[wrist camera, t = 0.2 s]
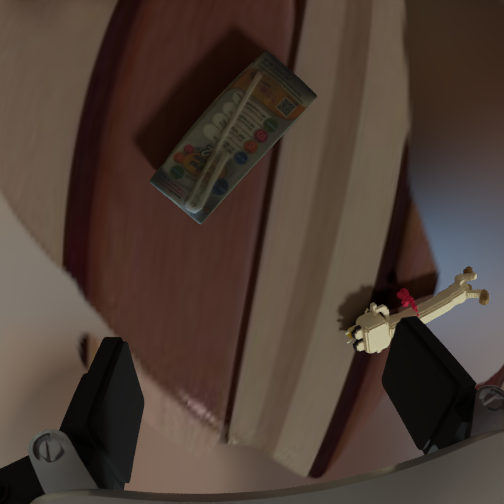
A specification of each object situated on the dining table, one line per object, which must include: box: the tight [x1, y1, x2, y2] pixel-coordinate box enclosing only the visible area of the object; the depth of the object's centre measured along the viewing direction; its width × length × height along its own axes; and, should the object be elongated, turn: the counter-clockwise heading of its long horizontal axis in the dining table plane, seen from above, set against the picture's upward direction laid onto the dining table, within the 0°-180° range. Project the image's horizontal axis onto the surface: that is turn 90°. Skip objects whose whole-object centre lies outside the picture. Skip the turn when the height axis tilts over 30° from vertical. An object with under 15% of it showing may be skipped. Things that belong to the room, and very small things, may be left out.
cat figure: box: [345, 267, 489, 353], centre depth 44 cm, size 10×9×25 cm
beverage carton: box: [150, 50, 317, 224], centre depth 34 cm, size 8×19×7 cm, turn 138°
